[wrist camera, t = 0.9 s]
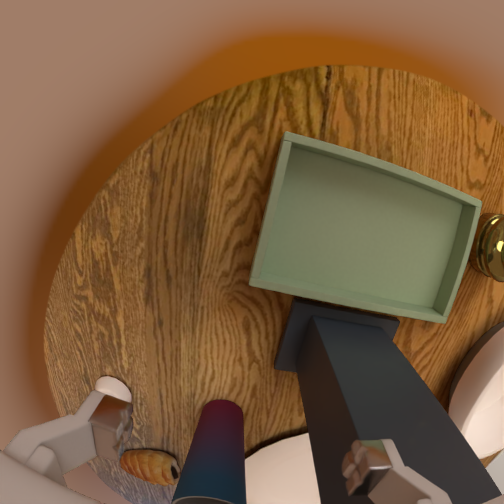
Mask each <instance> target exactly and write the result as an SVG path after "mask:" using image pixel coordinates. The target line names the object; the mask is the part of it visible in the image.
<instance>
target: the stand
mask: <svg viewBox="0 0 504 504" xmlns="http://www.w3.org/2000/svg"><path fill="white" fill-rule="evenodd" d="M399 323H400V321H399V320H398V319H397V318H396V317H392V316H386V315H381V314H375V313H370V312H364V311H359V310H354V309H349V308H344V307H339V306H333V305H328V304H323V303H318V302H314V301H309V300H304V299H299V298H294V299H293V302H292V305H291V309H290V312H289V316H288V319H287V322H286V326H285V329H284V332H283V335H282V339H281V342H280V345H279V348H278V352H277V355H276V358H275V361H274V369H278V370H284V371H290V372H296V373H297V376H298V381H299V386H300V392H301V397H302V402H303V407H304V413H305V418H306V423H307V429H308V434H309V439H310V445H311V450H312V456H313V461H314V467H315V473H316V478H317V484H318V490H319V496H320V501H321V504H375V503H374V502H373V501H372V500H371V499H370V498H369V497H368V495H361V496H348V493H347V489H346V485H345V483H346V481H347V478H346V477H345V476H344V475H343V473H342V461H343V458H344V457H345V455H346V453H348V452H349V451H351V450H352V448H351V445H352V444H353V442H354V441H355V440H372V439H378V440H379V439H391V440H392V441H393V442H394V444H395V447H396V449H397V451H398V453H399V455H400V457H401V459H402V462H403V464H404V466H405V467H406V466H408V467H409V468H411V469H412V470H414V471H415V472H417V473H418V474H420V475H421V476H422V477H424V478H425V479H427V480H428V481H430V482H431V483H433V484H434V485H436V486H437V487H439V488H440V489H442V490H443V491H445V492H446V493H447V494H448V496H449V498H450V500H451V502H452V504H482V503H485V502H487V501H490V500H492V499H494V498H497V497H499V496H501V495H502V494H501V492H500V491H499V489H498V487H497V486H496V484H495V483H494V481H493V480H492V478H491V476H490V475H489V473H488V472H487V470H486V469H485V467H484V466H483V464H482V463H481V461H480V460H479V458H478V457H477V455H476V454H475V452H474V451H473V449H472V448H471V446H470V445H469V443H468V442H467V441H466V439H465V438H464V436H463V435H462V433H461V432H460V431H459V429H458V428H457V426H456V425H455V423H454V422H453V421H452V419H451V418H450V416H449V415H448V414H447V412H446V411H445V410H444V408H443V407H442V405H441V404H440V403H439V401H438V400H437V399H436V397H435V396H434V395H433V393H432V392H431V391H430V389H429V388H428V386H427V385H426V384H425V383H424V381H423V380H422V379H421V377H420V376H419V375H418V373H417V372H416V371H415V369H414V368H413V367H412V365H411V364H410V363H409V362H408V360H407V359H406V358H405V356H404V355H403V354H402V353H401V351H400V350H399V349H398V347H397V346H396V345H395V344H394V342H393V341H392V340H393V338H394V336H395V333H396V331H397V328H398V326H399Z"/></svg>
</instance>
